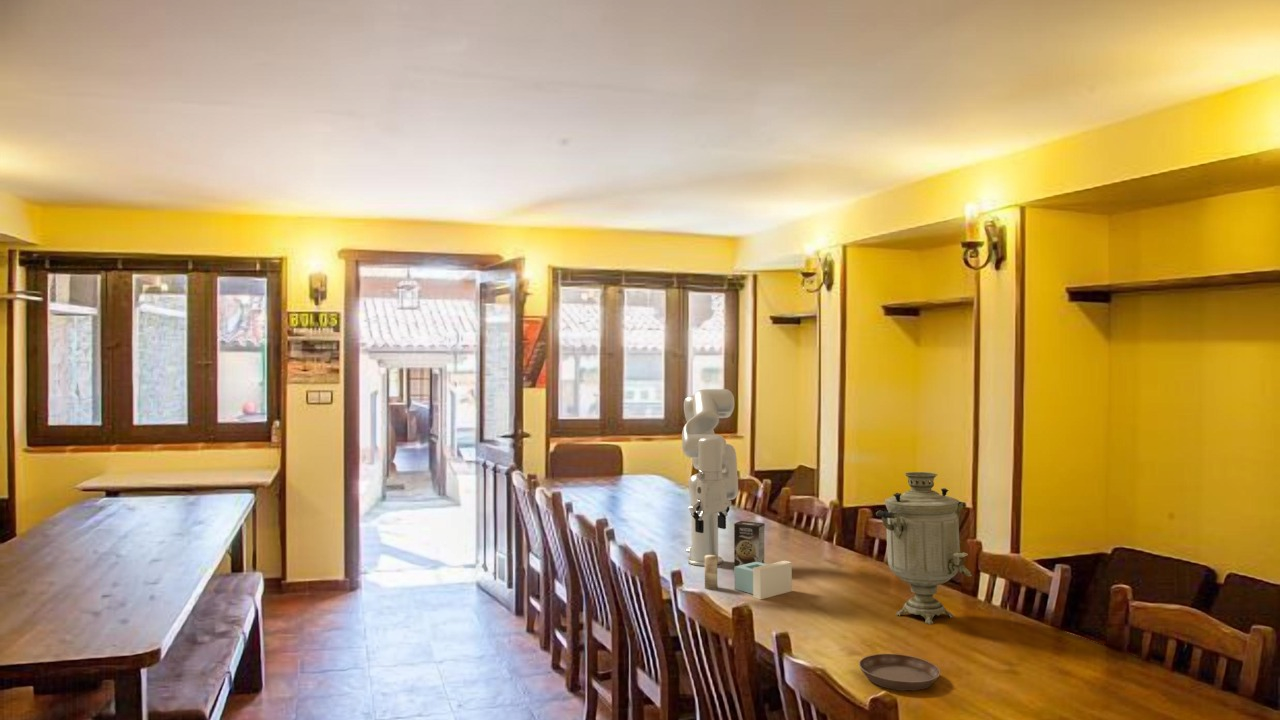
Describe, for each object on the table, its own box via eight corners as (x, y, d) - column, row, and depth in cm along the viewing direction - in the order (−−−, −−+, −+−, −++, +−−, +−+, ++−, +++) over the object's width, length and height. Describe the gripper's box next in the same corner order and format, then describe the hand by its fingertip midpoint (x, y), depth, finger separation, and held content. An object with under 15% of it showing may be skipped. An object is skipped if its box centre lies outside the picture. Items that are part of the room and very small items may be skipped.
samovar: (907, 638, 225) (907, 484, 224) (856, 609, 250) (855, 471, 250) (1005, 628, 233) (1005, 479, 232) (946, 601, 258) (945, 467, 257)
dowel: (702, 587, 275) (702, 556, 275) (711, 585, 277) (711, 554, 277) (710, 590, 272) (710, 558, 272) (720, 588, 274) (719, 556, 274)
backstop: (753, 597, 263) (753, 567, 263) (784, 589, 272) (784, 560, 272) (760, 599, 261) (760, 569, 261) (791, 591, 270) (791, 562, 270)
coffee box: (733, 570, 296) (733, 523, 296) (740, 566, 302) (740, 520, 301) (758, 573, 292) (758, 525, 291) (765, 569, 297) (765, 522, 297)
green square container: (734, 588, 273) (734, 566, 272) (756, 583, 279) (756, 561, 279) (757, 595, 265) (757, 572, 265) (780, 589, 271) (780, 567, 271)
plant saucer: (923, 665, 207) (923, 652, 206) (952, 694, 189) (952, 680, 189) (849, 666, 206) (849, 653, 206) (872, 696, 188) (872, 682, 188)
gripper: (698, 480, 266) (698, 536, 266) (738, 475, 277) (738, 528, 277) (682, 477, 272) (682, 532, 272) (721, 472, 282) (722, 525, 283)
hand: (710, 530), depth 274 cm, fingers open, 9 cm apart
